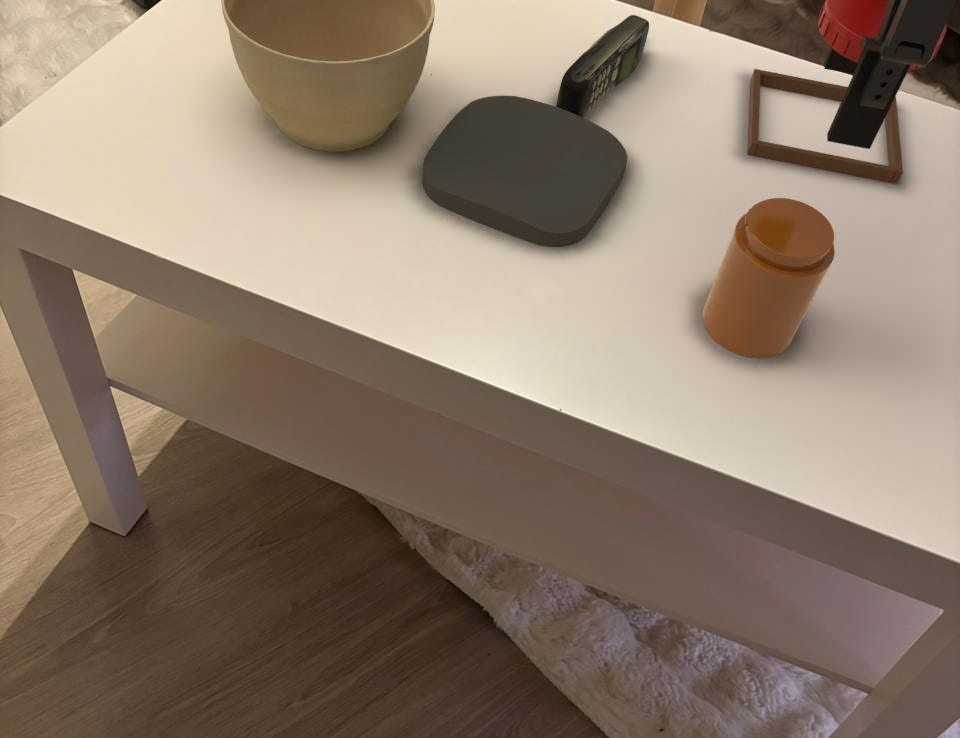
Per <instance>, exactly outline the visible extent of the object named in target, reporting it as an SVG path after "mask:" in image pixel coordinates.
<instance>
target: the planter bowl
mask: <svg viewBox="0 0 960 738" xmlns="http://www.w3.org/2000/svg"><path fill="white" fill-rule="evenodd" d="M221 10H222V11H221V12H222V15H223V18H224V22H225V24H226V27H227V29H228V35H229V40H230V45H231V48H232V52H233V56H234V59H235V62H236V64H237V67H238V69H239V71H240V73H241V76H242V78H243V80H244V82H245V83H246V85H247V87H248V89H249V91H250V92H251V94H252V96H253V97H254V98H255V99H256V101H257V102H258V104H259V105H260V107H262V109H263V110H264V111H265V112H266V113H267V114H268V115H269V117H270V118H271V119H272V120H273V121H275V123H276V125H277V128H279V130H280V131H281V132H282V133H283V134H284V136H286V137H287V138H288V139H290V140H291V141H293V142H295V143H297V144H299V145H300V146H303V147H306V148H309V149H313V150H317V151H321V152H334V153H335V152H349V151H355V150H359V149H362V148H365V147H367V146H370V145H372V144H373V143H375V142H377V141H378V140H379V139H381V138H382V137H383V136H384V135H385V133H386V132H387V131H388V129H389V126H390V124H392V122H393V121H394V120H395V119H396V118H397V117H398V116H399V114H400V113H401V112H402V111H403V110H404V108H405V106H406V105H407V104H408V102H409V100H410V99H411V97H412V96H413V94H414V92H415V90H416V88H417V86H418V84H419V81H420V80H421V76H422V74H423V71H424V68H425V66H426V65H425V64H426V61H427V57H428V52H429V45H430V38H431V33H432V30H433V26H434V21H435V13H436V6H435V0H221Z"/></svg>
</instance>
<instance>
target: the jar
mask: <svg viewBox="0 0 960 738" xmlns="http://www.w3.org/2000/svg"><path fill="white" fill-rule="evenodd" d="M834 241H835V231H834V229H833V226H832V224H831V223H830V220H829V219H827V217H826V216H825V215H824V214H823V213H821V211H819V210H818V209H817V208H814V207H813V206H811V205H809V204H808V203H805V202H802V201H800V200H796V199H791V198H786V197H773V198H772V197H771V198H767V199H763V200H761V201H759V202H757V203H755V204H754V205H752V207H751V208H749V209H748V211H747V212H746V213H745V214H743V215H742V216H741V217H740V218H739V220H738V221H737V223H736V225H735V228H734V230H733V232H732V235H731V237H730V240H729V242H728V245H727V248H726V249H725V253H724V255H723V257H722V260H721V263H720V265H719V268H718V271H717V273H716V276H715V278H714V281H713V283H712V286H711V288H710V290H709V293H708V295H707V298H706V301H705V304H704V306H703V309H702V314H701V316H702V317H701V318H702V323H703V326H704V328H705V330H706V332H707V333H708V335H709V336H710V337H711V338H712V340H714V342H716V343H717V344H718V345H719V346H720V347H722V348H723V349H724V350H727V351H728V352H731V353H733V354H736V355H738V356H742V357H746V358H752V359H765V358H771V357H774V356H776V355H779V354H781V353H783V352H784V351H785V350H786V349H787V348H788V347H789V346H790V345H791V343H792V341H793V340H794V337H795V335H796V333H797V331H798V329H799V327H800V325H801V323H802V321H803V319H804V317H805V316H806V314H807V312H808V310H809V308H810V306H811V304H812V302H813V300H814V299H815V296H816V295H817V292H818V290H819V288H820V286H821V284H822V283H823V281H824V278H825V276H827V273H828V271H829V269H830V267H831V265H832V263H833V261H834V259H835V251H836V250H835V244H834Z"/></svg>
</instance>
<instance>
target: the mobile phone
mask: <svg viewBox="0 0 960 738" xmlns="http://www.w3.org/2000/svg"><path fill="white" fill-rule="evenodd" d="M649 31H650V22H649V21H648V20H647V19H646V18H644V17H641V16H639V15H635V14H630V15H629V16H626V18H625V19H623V20H622V21H621V22H620V23H618V24H616V25H615V26H614V27H612V28H610V29H608V30H606V31H605V33H603V35H601V36H600V37H599V38H598V39H597V40H596V41H594V42H593V43H592V44H591V46H590V47H589V48H588V49H587V50H586V51H585V52H583V53H582V54H581V55H580V56H579V57H578V58H577V59H576V60H575V61H574V62H573V63H572V64H571V65H570V66H569V68H568V69H567V70H566V71H565V73H564V74H563V76H562V78H561V82H560V86H559V89H558V90H559V91H558V94H557V100H556V104H555V105H556V106H555V107H558V108H560V109H563V110H566V111H568V112H571V113H573V114H576V115H578V116H580V117H582V118H584V119H585V117H586V116H587V115H588V114H589V113H590V112H591V111H592V110H593V109H594V108H595V107H596V106H597V105H598V104H599V103H600V102H601V101H602V100H603V98H604V97H605V96H607V94H609V93H610V92H611V91H612V90H613V89H614V88H615V87H617V86H618V85H620V84H621V83H622V82H623V81H625V80H626V79H628V78H629V77H630V76H631V75H632V74H633V73H634V71H635V70H636V68H637V67H638V64H639V63H640V61H641V59H642V56H643V52H644V50H645V46H646V42H647V38H648V36H649V35H648V34H649Z"/></svg>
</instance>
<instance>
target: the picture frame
mask: <svg viewBox="0 0 960 738" xmlns="http://www.w3.org/2000/svg"><path fill="white" fill-rule="evenodd" d="M761 87H763V88H769V89H774V90H778V91H784V92H790V93H795V94H800V95H803V96H804V95H805V96H808V97H809V96H810V97H816V98H820V99H825V100H829V101H835V102H839V103H841V101H842V99H843V97H844V95H845V92H846V90H847V88H848V86H845V85H840V84H836V83H835V84H834V83H829V82H825V81H819V80H814V79H809V78H805V77H804V78H803V77H799V76H793V75H789V74H783V73H779V72H772V71H769V70H764V69H763V70H762V69H758V68H754V70H753V72H752V75H751V78H750V80H749V102H748V126H747V127H748V128H747V147H746V149H747V150H746V155H747V156H752V157H757V158H762V159H766V160H772V161H775V162H782V163H787V164H791V165H796V166H797V165H798V166H802V167H807V168H813V169H816V170H817V169H818V170H822V171H828V172H833V173H838V174H843V175H849V176H853V177H858V178H864V179H868V180H874V181H878V182H883V183H887V184H888V183H889V184H893V185H894V184H895V185H898V183H899V181H900V180H901V177H902V176H903V174H904V169H903V159H902V149H901V147H902V146H901V138H900V137H901V136H900V125H899V116H898V114H899V113H898V106H897V105H898V104H897V95H896V96H895V98H894V100H893V103H892V105H891V107H890V109H889V111H888V113H887V115H886V117H885V119H884V123H885V134H886V135H885V136H886V147H887V159H888V165H886V164H882V163H881V164H880V163H876V162H870V161H866V160H862V159H861V160H860V159H855V158H850V157H846V156H841V155H840V156H839V155H834V154H829V153H825V152H819V151H814V150H809V149H804V148H800V147H794V146H789V145H783V144H779V143H773V142H769V141H763V140H759V137H760V136H759V133H760V104H761V103H760V102H761Z"/></svg>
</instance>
